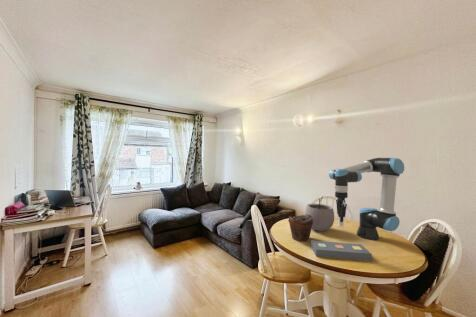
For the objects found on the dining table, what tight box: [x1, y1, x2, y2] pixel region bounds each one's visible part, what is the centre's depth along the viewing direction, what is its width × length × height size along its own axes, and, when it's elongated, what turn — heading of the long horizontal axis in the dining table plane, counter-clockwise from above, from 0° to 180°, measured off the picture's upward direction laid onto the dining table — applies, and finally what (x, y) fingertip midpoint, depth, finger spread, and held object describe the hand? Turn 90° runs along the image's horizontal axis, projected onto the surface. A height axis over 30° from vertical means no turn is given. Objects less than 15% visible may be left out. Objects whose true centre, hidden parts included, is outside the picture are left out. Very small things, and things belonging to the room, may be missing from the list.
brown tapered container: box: [287, 214, 313, 242], centre depth 158 cm, size 18×20×18 cm
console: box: [310, 240, 373, 262], centre depth 134 cm, size 33×14×4 cm, turn 82°
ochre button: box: [352, 246, 362, 250], centre depth 133 cm, size 5×5×4 cm
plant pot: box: [304, 196, 335, 232], centre depth 178 cm, size 24×24×30 cm
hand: (340, 226), depth 137 cm, fingers closed
